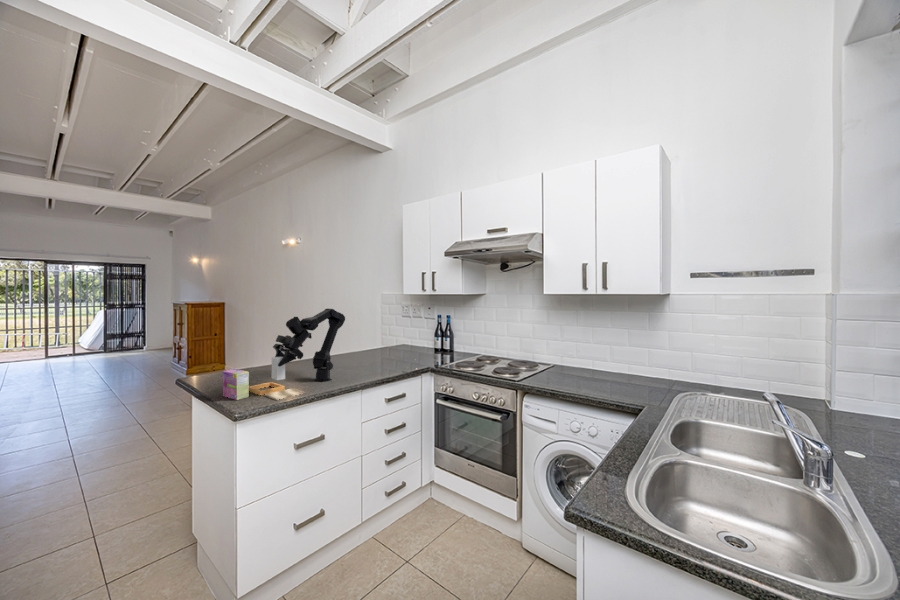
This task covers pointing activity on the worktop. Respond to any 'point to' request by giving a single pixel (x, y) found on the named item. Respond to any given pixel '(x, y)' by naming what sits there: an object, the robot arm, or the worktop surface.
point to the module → (277, 369)
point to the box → (236, 384)
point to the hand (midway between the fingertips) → (275, 365)
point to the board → (284, 394)
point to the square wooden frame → (261, 392)
